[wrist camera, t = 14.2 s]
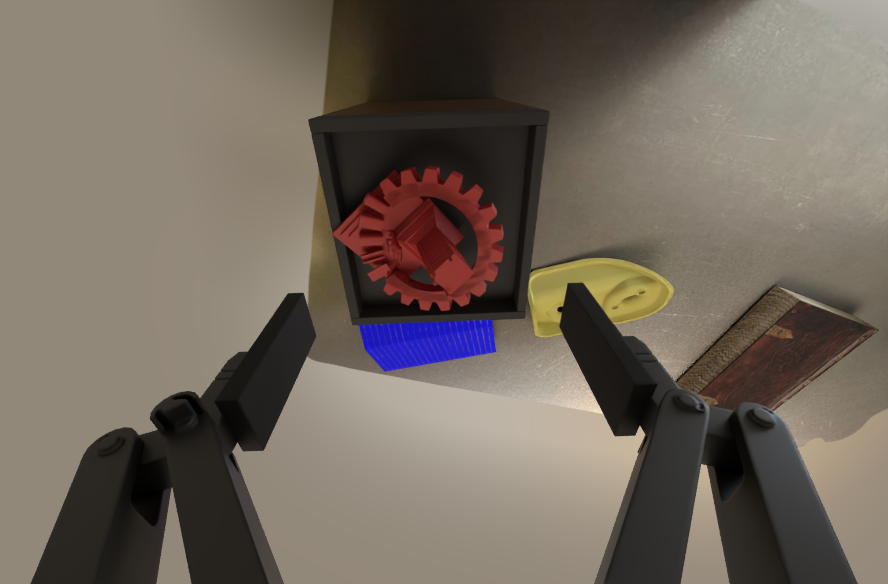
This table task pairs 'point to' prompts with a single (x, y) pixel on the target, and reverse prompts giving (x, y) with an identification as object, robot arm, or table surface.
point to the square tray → (451, 149)
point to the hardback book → (774, 351)
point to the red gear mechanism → (423, 237)
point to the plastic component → (596, 291)
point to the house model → (426, 342)
